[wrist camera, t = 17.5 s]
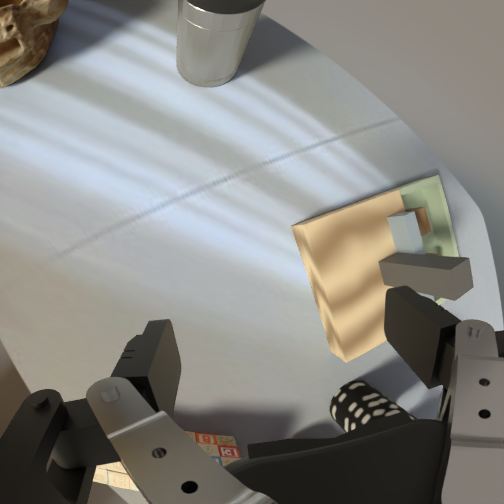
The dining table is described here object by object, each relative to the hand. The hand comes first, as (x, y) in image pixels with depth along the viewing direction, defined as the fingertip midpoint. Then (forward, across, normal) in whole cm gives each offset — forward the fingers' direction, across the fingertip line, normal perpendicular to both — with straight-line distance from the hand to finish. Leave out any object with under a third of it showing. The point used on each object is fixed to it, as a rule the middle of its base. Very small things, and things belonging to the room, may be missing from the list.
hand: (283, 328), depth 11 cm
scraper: (+29, -20, +10) cm, 36 cm away
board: (+33, -16, +11) cm, 39 cm away
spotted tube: (+29, -14, +33) cm, 46 cm away
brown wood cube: (+33, -24, +5) cm, 42 cm away
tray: (+36, -29, +8) cm, 47 cm away
